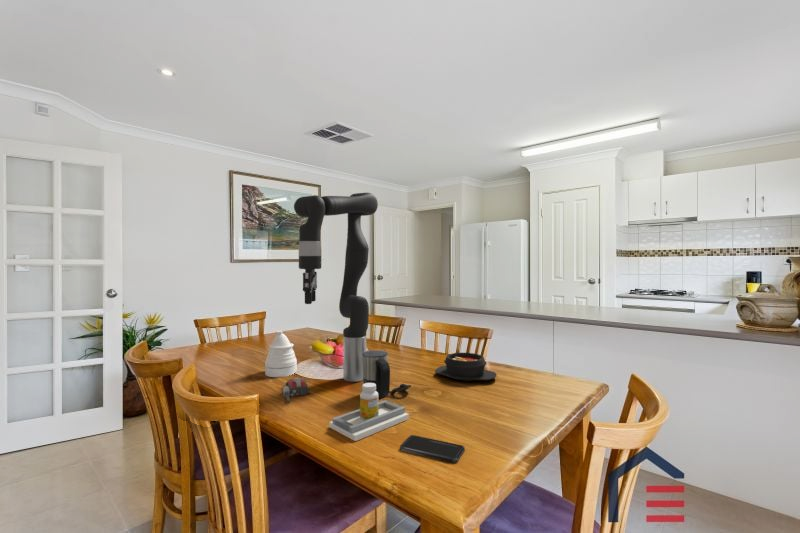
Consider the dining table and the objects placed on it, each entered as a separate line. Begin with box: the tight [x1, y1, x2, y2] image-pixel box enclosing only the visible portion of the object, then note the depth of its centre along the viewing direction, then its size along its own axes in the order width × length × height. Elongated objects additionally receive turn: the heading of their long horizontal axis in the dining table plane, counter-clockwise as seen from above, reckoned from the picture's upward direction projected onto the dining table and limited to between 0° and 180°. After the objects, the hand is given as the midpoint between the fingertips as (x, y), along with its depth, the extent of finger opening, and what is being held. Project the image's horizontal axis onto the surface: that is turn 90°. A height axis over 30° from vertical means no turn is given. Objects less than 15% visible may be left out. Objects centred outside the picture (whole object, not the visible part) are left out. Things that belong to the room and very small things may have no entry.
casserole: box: [434, 352, 498, 382], centre depth 155 cm, size 25×19×8 cm
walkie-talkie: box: [282, 377, 310, 403], centre depth 137 cm, size 9×4×20 cm
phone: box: [399, 434, 466, 464], centre depth 96 cm, size 8×1×15 cm
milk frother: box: [362, 349, 412, 399], centre depth 136 cm, size 14×16×15 cm
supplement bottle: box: [359, 383, 380, 421], centre depth 111 cm, size 5×5×10 cm
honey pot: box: [264, 330, 298, 378], centre depth 163 cm, size 13×13×18 cm
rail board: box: [328, 399, 410, 442], centre depth 111 cm, size 20×12×3 cm, turn 134°
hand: (310, 302), depth 130 cm, fingers open, 8 cm apart
